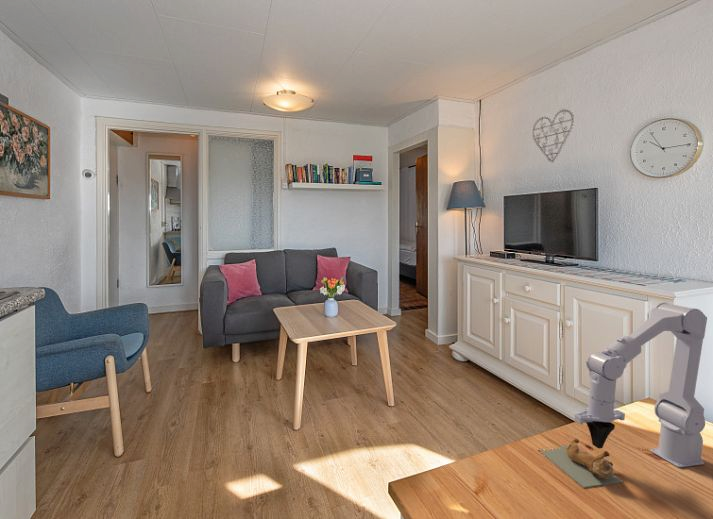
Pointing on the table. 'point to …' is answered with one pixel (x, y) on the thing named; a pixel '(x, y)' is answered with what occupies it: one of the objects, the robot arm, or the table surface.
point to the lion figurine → (590, 460)
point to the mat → (577, 469)
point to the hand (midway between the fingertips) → (597, 446)
